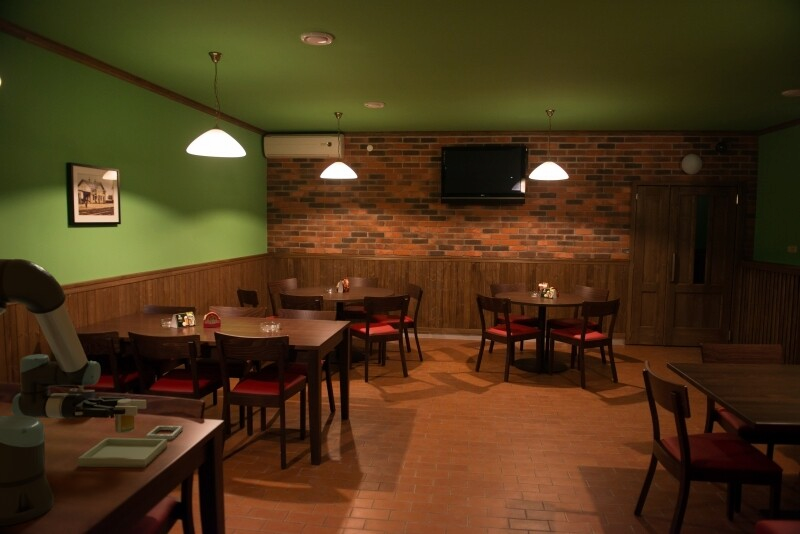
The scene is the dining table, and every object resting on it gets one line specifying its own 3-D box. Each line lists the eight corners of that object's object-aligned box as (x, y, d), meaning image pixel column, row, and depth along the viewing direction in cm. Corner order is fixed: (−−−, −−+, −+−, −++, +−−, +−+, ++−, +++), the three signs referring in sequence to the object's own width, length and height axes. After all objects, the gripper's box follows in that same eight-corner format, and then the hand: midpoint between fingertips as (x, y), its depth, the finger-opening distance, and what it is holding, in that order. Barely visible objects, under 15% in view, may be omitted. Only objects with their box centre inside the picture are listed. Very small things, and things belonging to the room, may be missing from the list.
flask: (96, 414, 209) (96, 384, 209) (91, 417, 206) (91, 386, 205) (71, 413, 210) (70, 383, 209) (66, 416, 207) (65, 386, 206)
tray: (145, 467, 165) (144, 459, 164) (78, 466, 164) (77, 458, 164) (167, 446, 180) (167, 439, 180) (106, 445, 180) (106, 437, 180)
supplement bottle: (138, 428, 175) (137, 398, 174) (127, 434, 169) (126, 403, 169) (122, 426, 175) (122, 397, 175) (111, 433, 170) (110, 402, 169)
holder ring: (172, 439, 186) (172, 435, 186) (145, 439, 186) (145, 435, 186) (182, 430, 195) (182, 426, 195) (157, 429, 195) (157, 425, 195)
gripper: (84, 407, 181) (154, 409, 181) (48, 428, 163) (127, 430, 163) (83, 385, 181) (154, 387, 181) (48, 403, 162) (126, 405, 162)
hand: (141, 407), depth 172 cm, fingers closed on supplement bottle, 5 cm apart
